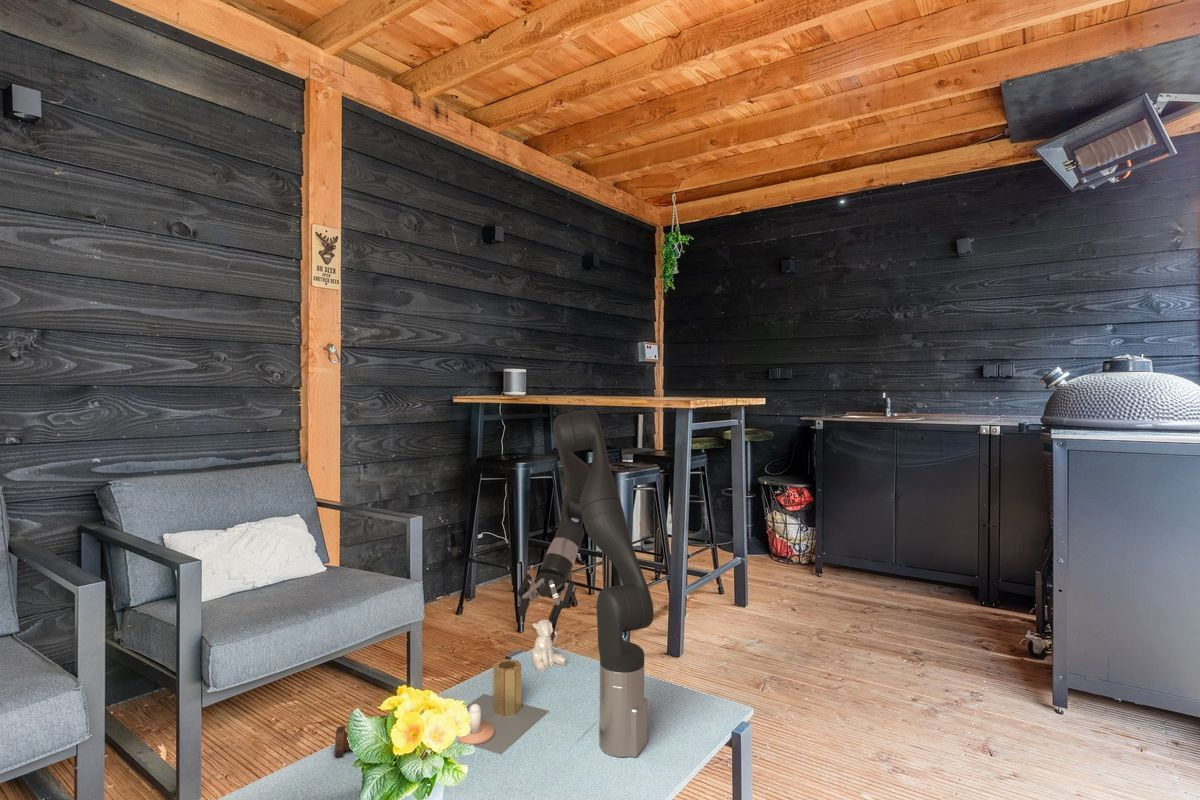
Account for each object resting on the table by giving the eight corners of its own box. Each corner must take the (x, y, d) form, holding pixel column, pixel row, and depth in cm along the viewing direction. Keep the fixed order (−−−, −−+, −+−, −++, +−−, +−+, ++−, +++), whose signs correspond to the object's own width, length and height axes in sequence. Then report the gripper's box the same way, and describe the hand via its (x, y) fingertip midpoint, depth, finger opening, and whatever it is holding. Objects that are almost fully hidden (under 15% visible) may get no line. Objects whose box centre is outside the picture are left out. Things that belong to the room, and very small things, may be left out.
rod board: (549, 717, 145) (549, 682, 145) (499, 763, 127) (499, 723, 127) (483, 699, 153) (483, 666, 153) (428, 740, 135) (428, 703, 135)
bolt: (412, 753, 134) (334, 763, 130) (412, 730, 138) (337, 739, 134) (413, 736, 131) (334, 746, 127) (413, 713, 135) (336, 722, 131)
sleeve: (525, 705, 147) (525, 662, 147) (510, 718, 142) (511, 673, 142) (503, 700, 150) (503, 657, 150) (488, 711, 144) (488, 667, 144)
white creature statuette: (539, 675, 166) (539, 629, 166) (520, 664, 172) (520, 620, 172) (568, 665, 172) (568, 620, 172) (548, 655, 179) (549, 612, 178)
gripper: (530, 548, 167) (505, 606, 157) (579, 555, 160) (556, 616, 150) (541, 563, 172) (516, 620, 162) (588, 571, 165) (566, 631, 155)
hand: (535, 618), depth 156 cm, fingers open, 8 cm apart
